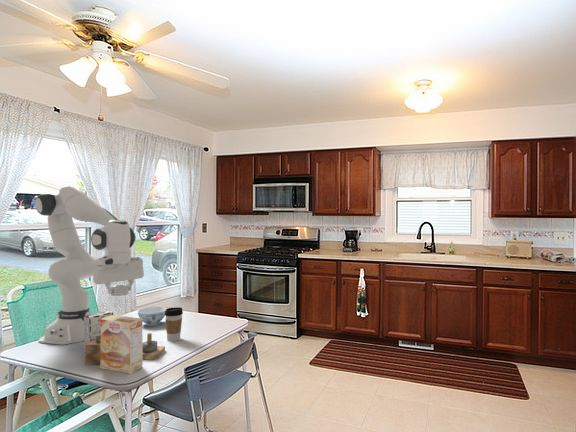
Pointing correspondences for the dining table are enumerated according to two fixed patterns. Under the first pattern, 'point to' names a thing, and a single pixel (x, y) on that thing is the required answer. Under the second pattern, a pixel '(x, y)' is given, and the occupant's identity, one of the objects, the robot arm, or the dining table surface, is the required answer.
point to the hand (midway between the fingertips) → (119, 291)
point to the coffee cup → (173, 323)
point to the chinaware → (152, 315)
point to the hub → (151, 348)
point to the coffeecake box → (121, 343)
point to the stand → (93, 352)
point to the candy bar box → (93, 325)
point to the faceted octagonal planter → (120, 290)
